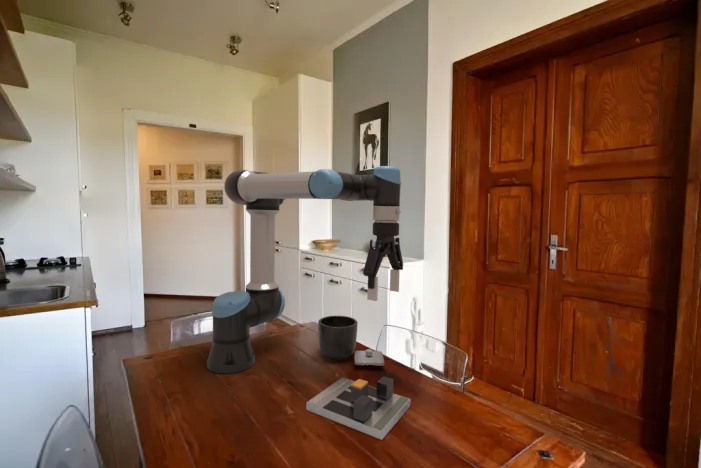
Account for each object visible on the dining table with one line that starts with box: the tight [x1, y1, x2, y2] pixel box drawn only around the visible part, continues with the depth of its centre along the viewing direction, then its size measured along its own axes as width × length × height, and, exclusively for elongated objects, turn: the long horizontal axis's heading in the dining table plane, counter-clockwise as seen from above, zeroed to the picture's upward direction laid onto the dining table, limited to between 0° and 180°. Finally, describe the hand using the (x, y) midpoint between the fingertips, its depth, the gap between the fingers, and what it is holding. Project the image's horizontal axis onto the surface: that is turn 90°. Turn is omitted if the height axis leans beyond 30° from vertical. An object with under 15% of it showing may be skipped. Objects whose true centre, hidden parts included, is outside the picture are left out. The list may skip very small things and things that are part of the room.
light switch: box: [353, 348, 385, 367], centre depth 121 cm, size 10×10×5 cm
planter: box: [317, 315, 359, 362], centre depth 127 cm, size 14×14×13 cm
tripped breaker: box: [351, 378, 369, 402], centre depth 94 cm, size 3×4×4 cm
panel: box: [305, 376, 412, 441], centre depth 94 cm, size 22×17×6 cm
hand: (383, 295), depth 103 cm, fingers open, 13 cm apart
